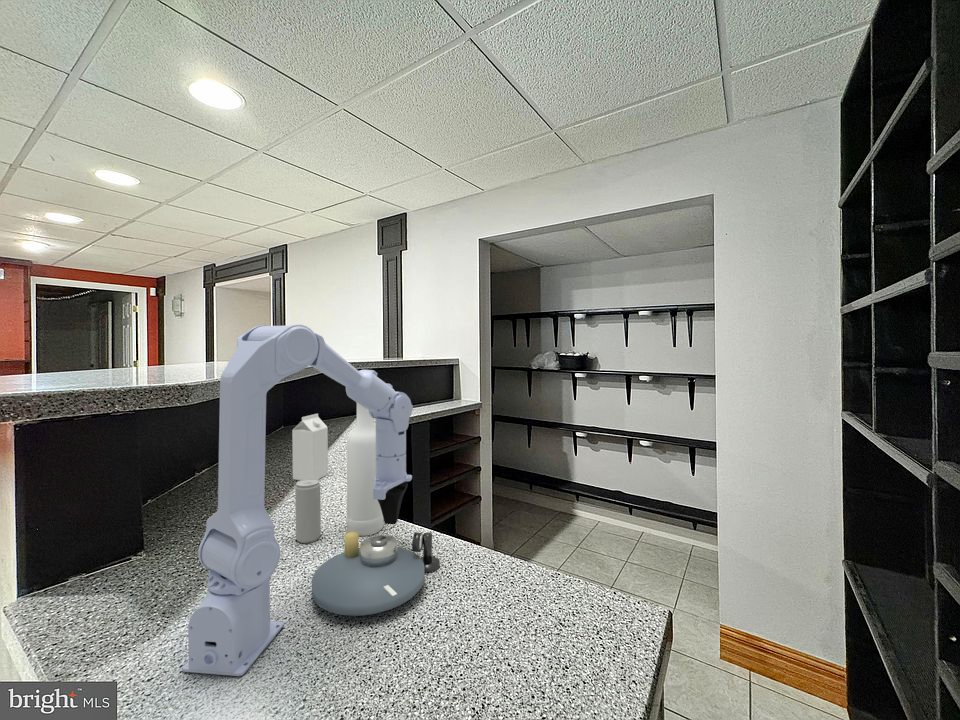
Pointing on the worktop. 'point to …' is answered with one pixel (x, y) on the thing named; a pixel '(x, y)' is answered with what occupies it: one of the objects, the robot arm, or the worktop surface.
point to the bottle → (362, 477)
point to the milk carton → (310, 448)
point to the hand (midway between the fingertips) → (391, 522)
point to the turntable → (366, 581)
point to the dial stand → (425, 550)
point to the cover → (378, 551)
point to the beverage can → (308, 510)
